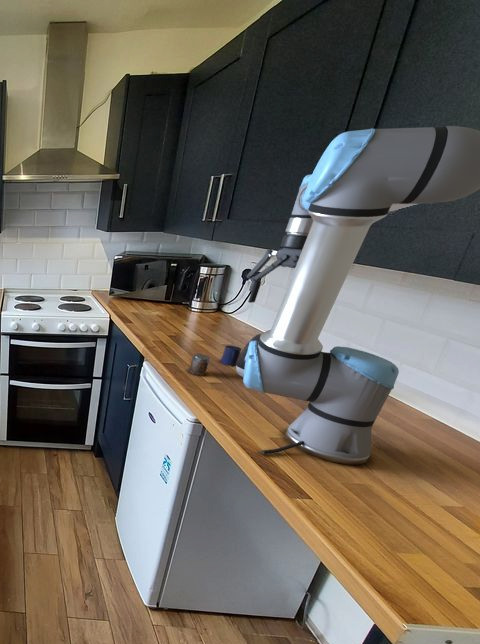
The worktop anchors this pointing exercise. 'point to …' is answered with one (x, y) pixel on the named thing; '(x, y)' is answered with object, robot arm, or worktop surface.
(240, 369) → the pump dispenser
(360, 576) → the worktop surface
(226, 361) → the dark blue cylinder
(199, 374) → the dark brown cylinder
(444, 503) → the worktop surface
